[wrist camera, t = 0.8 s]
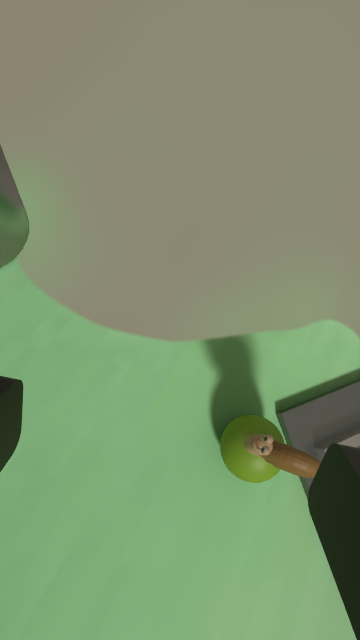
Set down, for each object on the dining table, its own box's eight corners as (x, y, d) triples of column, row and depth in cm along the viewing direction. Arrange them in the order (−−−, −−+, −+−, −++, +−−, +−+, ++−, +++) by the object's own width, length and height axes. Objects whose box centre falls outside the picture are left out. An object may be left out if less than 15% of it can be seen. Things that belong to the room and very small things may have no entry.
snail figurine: (213, 401, 31) (277, 398, 20) (272, 426, 32) (366, 437, 21) (194, 459, 30) (251, 492, 18) (257, 484, 30) (349, 530, 19)
